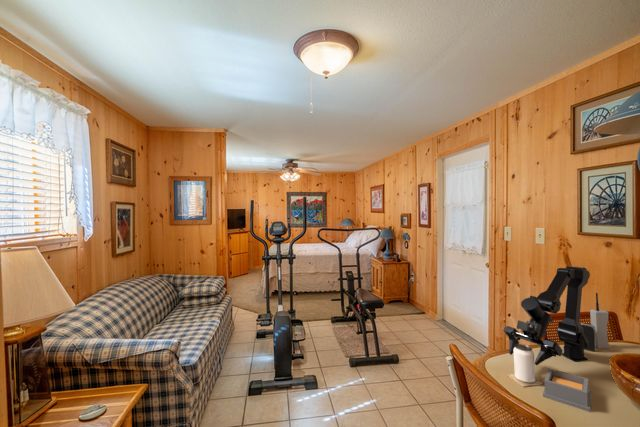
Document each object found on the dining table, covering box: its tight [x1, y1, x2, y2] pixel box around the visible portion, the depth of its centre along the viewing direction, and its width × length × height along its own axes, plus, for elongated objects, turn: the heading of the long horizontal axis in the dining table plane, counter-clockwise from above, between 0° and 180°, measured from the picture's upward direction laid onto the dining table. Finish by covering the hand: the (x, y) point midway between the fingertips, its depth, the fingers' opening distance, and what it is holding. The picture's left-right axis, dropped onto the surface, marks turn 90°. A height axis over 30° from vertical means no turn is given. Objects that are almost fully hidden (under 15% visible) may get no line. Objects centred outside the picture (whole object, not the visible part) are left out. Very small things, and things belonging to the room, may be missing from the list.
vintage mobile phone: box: [589, 292, 611, 349], centre depth 133 cm, size 4×5×25 cm
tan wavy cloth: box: [506, 372, 544, 388], centre depth 109 cm, size 8×8×1 cm
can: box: [513, 343, 536, 383], centre depth 110 cm, size 6×6×12 cm
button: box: [552, 376, 583, 390], centre depth 99 cm, size 8×8×2 cm
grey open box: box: [542, 367, 592, 412], centre depth 99 cm, size 12×12×6 cm
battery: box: [580, 322, 597, 352], centre depth 132 cm, size 7×4×11 cm, turn 38°
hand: (522, 359), depth 109 cm, fingers open, 9 cm apart
